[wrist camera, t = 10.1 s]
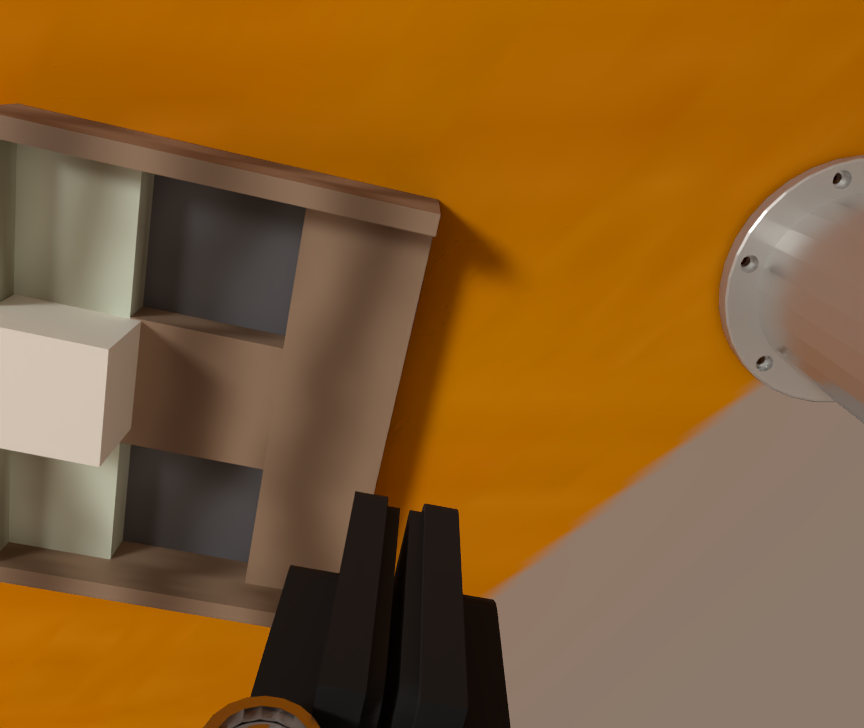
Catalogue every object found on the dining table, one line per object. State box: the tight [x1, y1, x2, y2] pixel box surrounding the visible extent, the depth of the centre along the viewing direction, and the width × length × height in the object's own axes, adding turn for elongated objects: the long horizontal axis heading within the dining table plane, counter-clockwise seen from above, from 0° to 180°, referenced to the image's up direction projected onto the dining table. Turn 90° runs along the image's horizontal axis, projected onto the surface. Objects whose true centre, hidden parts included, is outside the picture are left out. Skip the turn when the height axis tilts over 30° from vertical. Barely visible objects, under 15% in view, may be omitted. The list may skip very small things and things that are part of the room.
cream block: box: [0, 294, 141, 467], centre depth 35 cm, size 6×6×4 cm
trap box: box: [0, 104, 441, 627], centre depth 37 cm, size 20×24×4 cm
